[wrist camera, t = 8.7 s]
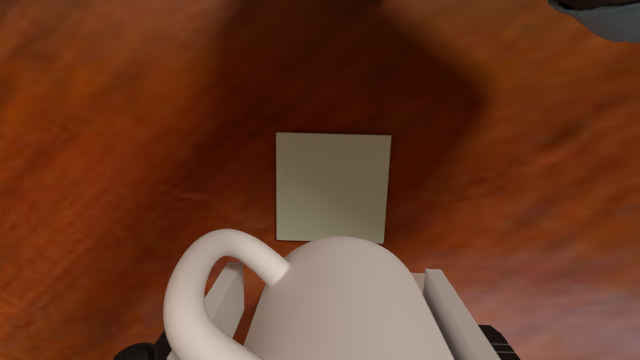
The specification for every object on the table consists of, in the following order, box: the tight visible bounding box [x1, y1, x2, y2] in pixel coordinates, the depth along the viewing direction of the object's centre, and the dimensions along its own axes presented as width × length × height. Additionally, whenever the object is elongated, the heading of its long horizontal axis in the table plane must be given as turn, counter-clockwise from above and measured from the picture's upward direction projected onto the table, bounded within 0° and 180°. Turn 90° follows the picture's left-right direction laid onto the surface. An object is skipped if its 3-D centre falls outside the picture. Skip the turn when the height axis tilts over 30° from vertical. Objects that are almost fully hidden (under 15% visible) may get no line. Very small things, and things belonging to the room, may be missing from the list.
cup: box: [163, 229, 454, 360], centre depth 13 cm, size 8×12×10 cm
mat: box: [276, 132, 391, 243], centre depth 36 cm, size 12×12×1 cm
